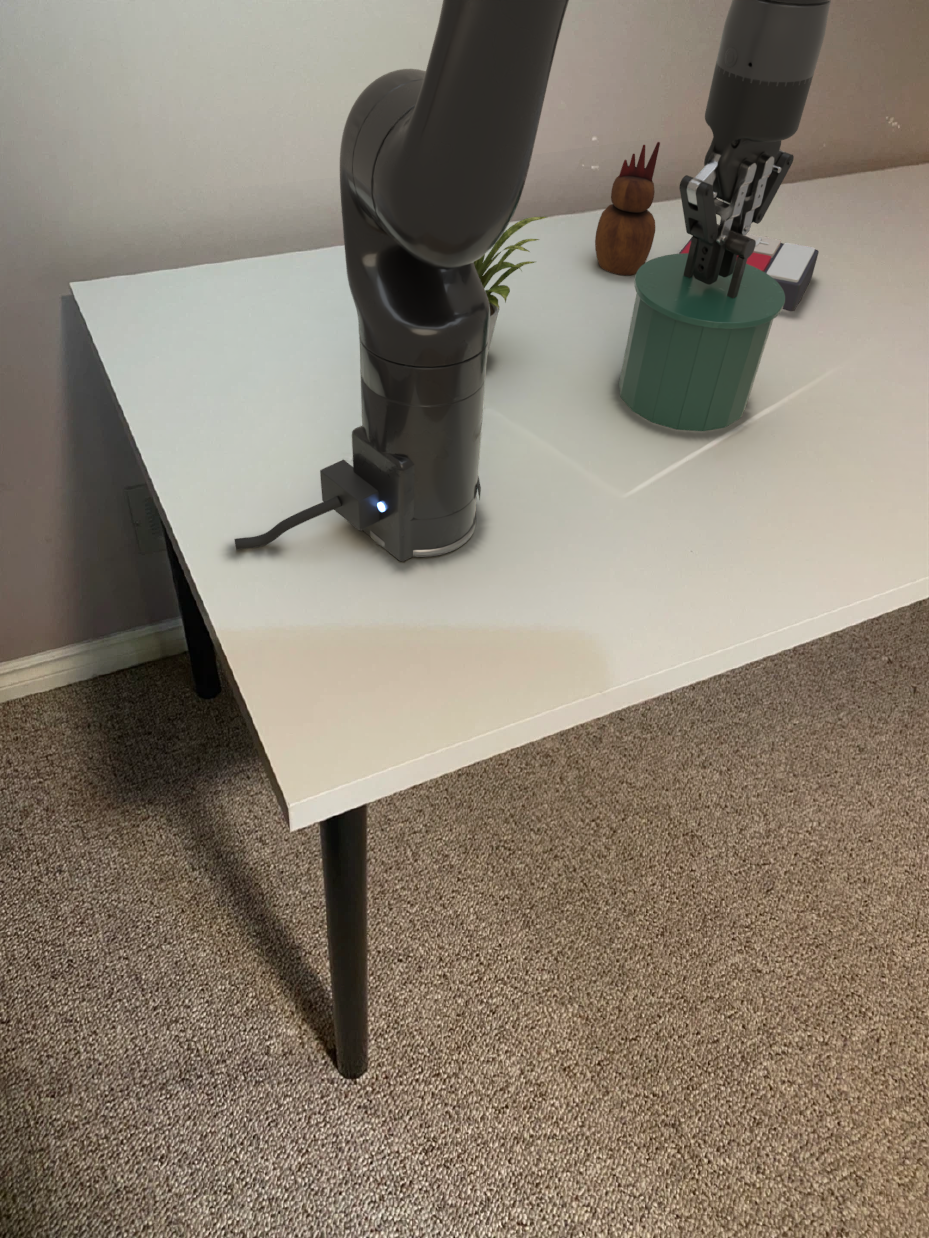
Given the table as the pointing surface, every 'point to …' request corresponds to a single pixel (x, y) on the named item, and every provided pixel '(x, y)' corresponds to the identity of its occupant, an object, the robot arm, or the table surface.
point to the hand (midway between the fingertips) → (712, 276)
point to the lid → (711, 289)
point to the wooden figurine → (628, 218)
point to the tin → (688, 370)
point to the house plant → (483, 266)
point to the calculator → (782, 265)
